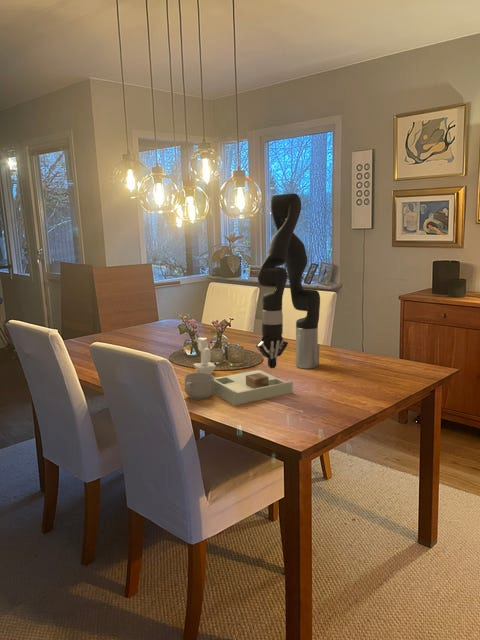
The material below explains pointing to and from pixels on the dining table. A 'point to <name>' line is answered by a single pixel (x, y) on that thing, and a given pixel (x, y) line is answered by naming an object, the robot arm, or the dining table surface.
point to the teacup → (199, 385)
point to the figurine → (204, 357)
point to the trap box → (249, 388)
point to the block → (257, 380)
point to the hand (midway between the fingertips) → (271, 367)
